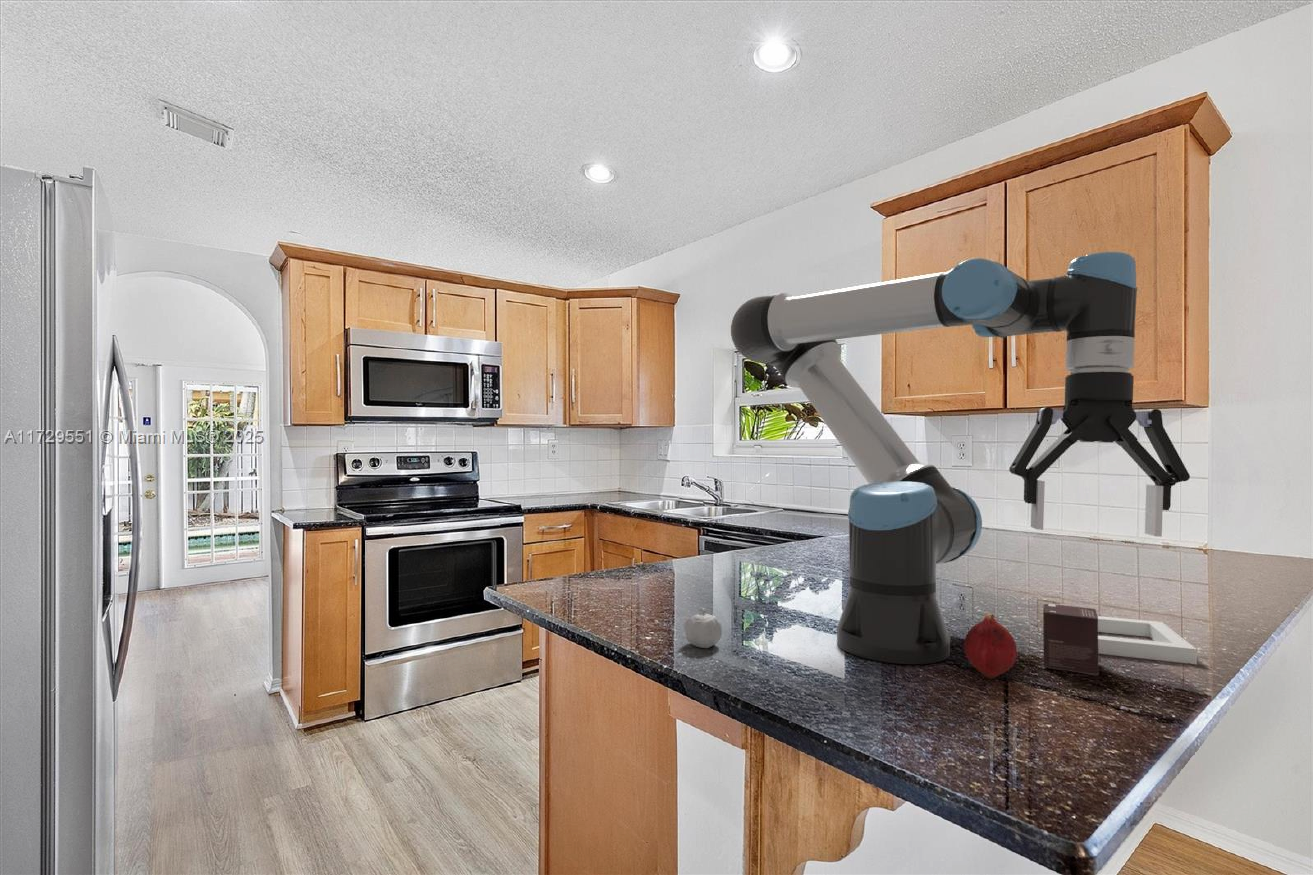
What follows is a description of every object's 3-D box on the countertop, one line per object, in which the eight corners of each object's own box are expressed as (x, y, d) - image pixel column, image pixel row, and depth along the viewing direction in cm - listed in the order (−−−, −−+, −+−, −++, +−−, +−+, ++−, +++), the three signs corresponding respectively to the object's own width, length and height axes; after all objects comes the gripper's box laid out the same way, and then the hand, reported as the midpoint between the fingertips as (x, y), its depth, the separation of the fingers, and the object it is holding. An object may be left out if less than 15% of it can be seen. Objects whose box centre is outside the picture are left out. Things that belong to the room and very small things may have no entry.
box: (1099, 677, 80) (1098, 618, 81) (1043, 668, 84) (1042, 611, 84) (1096, 663, 86) (1096, 608, 86) (1044, 655, 89) (1043, 602, 89)
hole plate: (1064, 649, 91) (1064, 635, 91) (1048, 623, 105) (1048, 611, 105) (1197, 664, 85) (1196, 649, 85) (1161, 634, 99) (1161, 621, 99)
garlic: (687, 638, 96) (688, 603, 96) (724, 640, 95) (724, 605, 95) (681, 650, 90) (681, 613, 90) (719, 653, 89) (719, 615, 89)
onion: (1024, 689, 76) (1024, 621, 76) (971, 685, 77) (971, 618, 77) (1007, 672, 82) (1007, 609, 82) (959, 669, 83) (959, 606, 83)
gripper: (1003, 369, 85) (998, 529, 85) (1227, 369, 79) (1221, 542, 79) (989, 374, 92) (984, 522, 92) (1193, 375, 86) (1188, 533, 86)
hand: (1093, 531), depth 86 cm, fingers open, 13 cm apart
